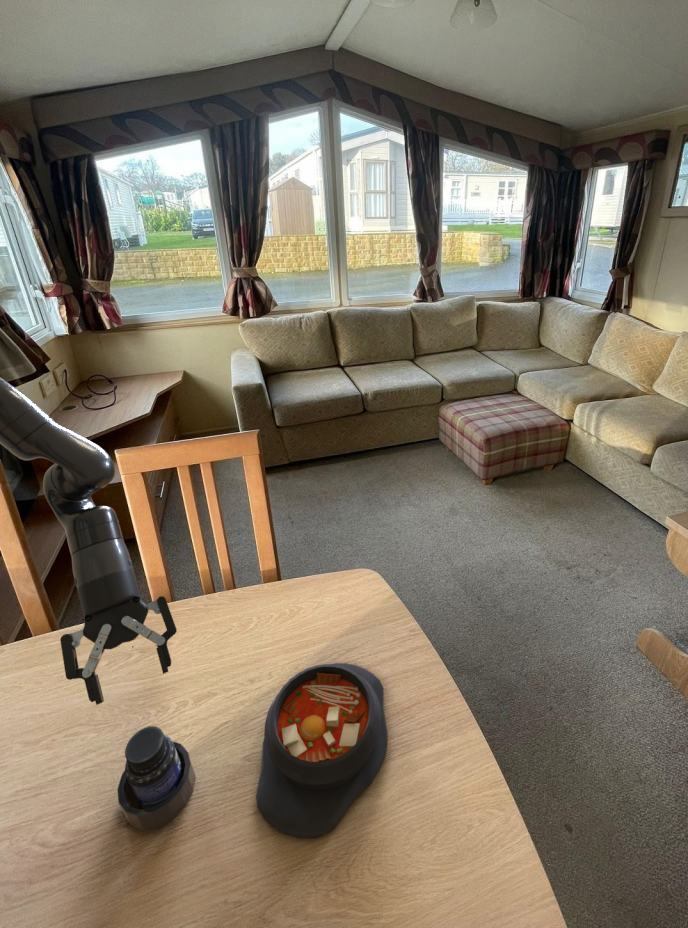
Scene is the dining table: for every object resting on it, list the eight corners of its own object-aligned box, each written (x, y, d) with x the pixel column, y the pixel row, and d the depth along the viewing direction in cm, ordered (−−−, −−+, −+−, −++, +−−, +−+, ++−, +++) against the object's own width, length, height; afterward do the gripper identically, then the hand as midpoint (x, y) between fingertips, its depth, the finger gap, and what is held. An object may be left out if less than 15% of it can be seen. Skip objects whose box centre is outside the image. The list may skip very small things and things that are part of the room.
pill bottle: (195, 783, 68) (179, 736, 63) (157, 827, 64) (137, 780, 59) (168, 758, 71) (151, 711, 66) (129, 799, 67) (108, 751, 62)
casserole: (308, 658, 86) (304, 625, 83) (408, 688, 81) (408, 654, 77) (225, 814, 65) (214, 779, 62) (352, 870, 60) (349, 835, 56)
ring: (117, 841, 63) (107, 821, 61) (138, 767, 71) (129, 746, 69) (189, 828, 64) (182, 807, 62) (201, 756, 72) (195, 735, 70)
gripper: (157, 561, 79) (185, 661, 75) (55, 598, 72) (81, 710, 68) (155, 555, 72) (186, 664, 69) (43, 594, 66) (71, 718, 62)
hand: (133, 687), depth 68 cm, fingers open, 8 cm apart
